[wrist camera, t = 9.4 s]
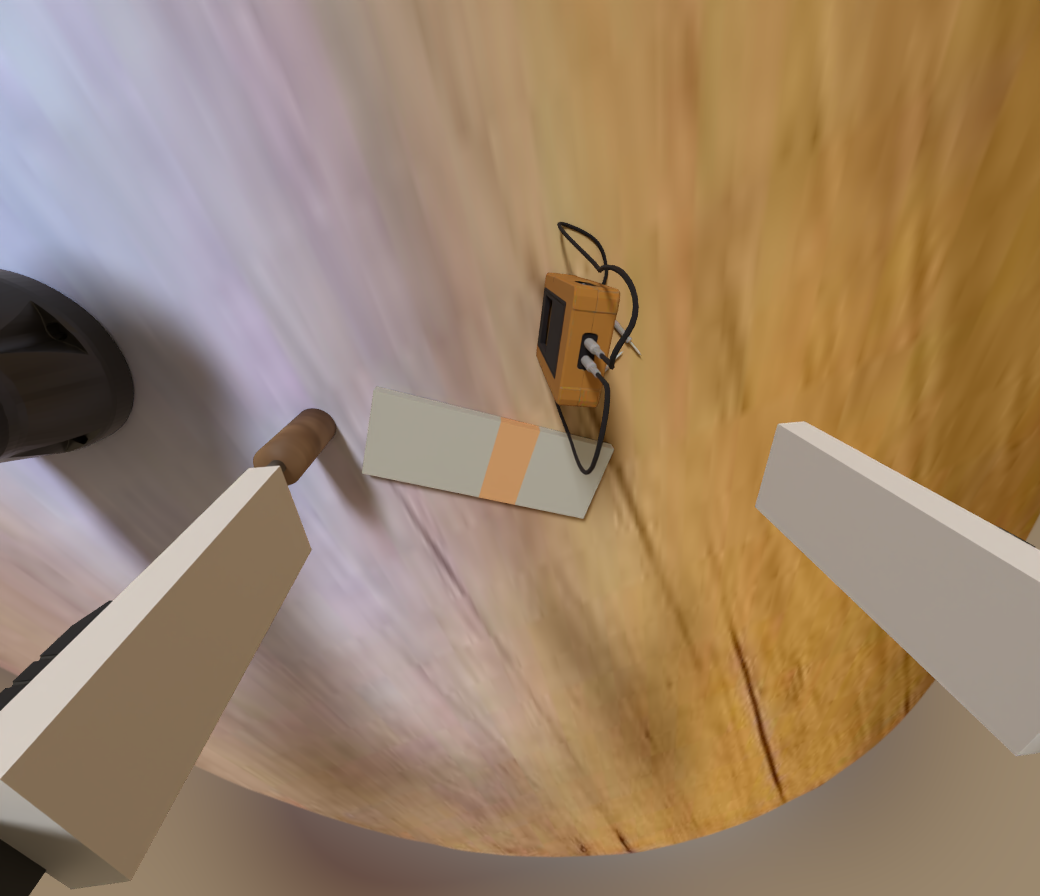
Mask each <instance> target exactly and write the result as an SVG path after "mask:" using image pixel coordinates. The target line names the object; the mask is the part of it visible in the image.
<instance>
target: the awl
mask: <svg viewBox="0 0 1040 896" xmlns="http://www.w3.org/2000/svg"><path fill="white" fill-rule="evenodd" d="M335 432H336V425H335V422H334V420H333V419H332V417H331V416H330V415H329V414H327V413H326V412H324V411H322V410H319V409H313V408H312V409H306V410H304V411H302V412H301V413H300V414H299V415H298V416H297V417H296V418H294V419H293V420H292V421H291V422H290V423H289V424H288V425H287V426H285V427H284V428H283V429H282V430H281V431H280V432H279V433H278V434H276V435H275V436H274V437H273V438H272V439H271V440H270V441H269V442H268V443H266V444H265V445H264V446H263V447H262V448H261V449H260V450H259V451H258V452H257V453H256V454H255V456H254V459H253V465H254V468H258V467H270V466H280V467H281V469H282V472H283V475H284V477H285V480H286V483H287V485H291V484H293V483H295V482H297V481H298V480H299V478H300V477H301V476H302V475H303V473H304V472H305V471H306V470H307V468H308V467H309V466H310V465H311V464H312V462H313V461H314V460H315V459H316V457H317V456H318V455H319V454H320V452H321V451H322V450H323V449H324V447H325V446H326V445H327V444H328V443H329V441H330V440H331V439H332V438H333V436H334V435H335Z"/></svg>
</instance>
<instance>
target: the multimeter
mask: <svg viewBox="0 0 1040 896" xmlns="http://www.w3.org/2000/svg"><path fill="white" fill-rule="evenodd" d="M557 225H558V228H559V230H560V231H561V232H562V234H563V235H564V236H565V237H566V238H567V239H568V240H569V241H570V242H571V243H572V244H573V245H574V246H575V247H576V248H577V249H578V250H579V251H580V252H581V253H582V254H583V255H584V256H585V257H586V258H587V259H588V260H589V261H590V262H591V264H592V265H593V266H594V267H595V268H596V269H597V271H598V272H600V273H601V272H602V271H603V270H605V276H604V280H603V282H602V284H600V283H597V282H594V281H591V280H588V279H584V278H580V277H577V276H575V275H567V274H558V273H548V274H547V275H546V280H545V289H544V297H543V305H542V313H541V321H540V329H539V337H538V344H537V354H536V356H537V358H538V361H539V363H540V366H541V368H542V371H543V373H544V375H545V378H546V380H547V382H548V385H549V387H550V389H551V392H552V394H553V396H554V399H555V403H556V406H557V409H558V412H559V415H560V418H561V420H562V423H563V426H564V428H565V431H566V433H567V436H568V439H569V442H570V445H571V448H572V452H573V455H574V458H575V461H576V463H577V466H578V468H579V469H580V471H581V472H582V473H583V474H585V475H589V474H590V473H591V472H592V471H593V470H594V468H595V466H596V463H597V461H598V458H599V455H600V451H601V448H602V444H603V439H604V435H605V430H606V426H607V420H608V414H609V406H610V387H609V384H608V382H607V381H606V380H605V379H604V374H605V372H606V371H607V370H609V368H610V369H613V368H614V363H615V360H616V359H617V358H618V357H619V356H620V355H621V353H622V352H623V351H622V352H621V353H619V351H620V349H621V347H622V346H623V344H624V343H625V341H626V343H628V342H629V343H630V344H631V345H632V347H633V348H634V349H635V350H636V352H637V353H638V354H639V355H641V354H640V352H639V351H638V349H637V348H636V347H635V346H634V344H633V343H632V342H631V339H632V338H631V337H629V335H630V333H631V332H632V330H633V328H634V326H635V323H636V320H637V317H638V308H639V306H638V296H637V293H636V289H635V286H634V284H633V282H632V280H631V279H630V277H629V276H628V274H627V273H626V272H625V271H624V270H623V269H621V268H620V267H618V266H615V265H607V260H606V256H605V252H604V250H603V248H602V246H601V244H600V243H599V241H598V240H597V239H596V238H595V237H593V236H592V235H591V234H589V233H587V232H586V231H584V230H582V229H580V228H578V227H575V226H573V225H570V224H568V223H564V222H559V223H558V224H557ZM561 225H563V226H566V227H569V228H572V229H574V230H576V231H579V232H581V233H583V234H585V235H586V236H588V237H589V238H591V239H592V240H593V241H594V242H595V243H596V244H597V245H598V247H599V248H600V251H601V253H602V256H603V260H604V265H603V266H601V267H599V265H598V264H597V263H596V262H595V261H594V260H593V259H592V258H591V257H590V256H589V255H588V254H587V253H586V252H585V251H584V250H583V249H582V248H581V247H580V246H579V245H578V244H577V243H576V242H575V241H574V240H573V239H572V238H571V237H570V236H569V235H568V234H567V233H566V232H565V231H564V229H563V228H562V227H561ZM608 270H612V271H615V272H616V273H618V274H619V275H620V276H621V277H622V278H623V279H624V280H625V282H626V283H627V285H628V287H629V289H630V292H631V295H632V300H633V311H632V317H631V320H630V323H629V325H628V327H627V329H626V330H624V329H623V328H622V327H621V325H620V324H619V323H618V322H617V321H616V315H617V312H618V307H619V301H620V292H619V290H618V289H615V288H612V287H609V286H606V285H605V283H606V279H607V275H608ZM614 327H615V328H616V329H617V331H618V332H619V333H620V334H621V336H622V337H621V338H620V340H619V341H618V342H617V344H616V346H615V348H614V350H613V352H612V354H611V356H610V359H608V354H609V349H610V344H611V339H612V335H613V330H614ZM618 353H619V354H618ZM606 364H607V366H606ZM608 367H609V368H608ZM602 384H603V385H604V388H605V402H604V411H603V417H602V423H601V428H600V433H599V437H598V442H597V446H596V450H595V453H594V457H593V460H592V462H591V465H590V467H589V469H588V470H585V469H584V468H583V466H582V465H581V463H580V460H579V458H578V455H577V453H576V450H575V447H574V444H573V441H572V438H571V435H570V432H569V430H568V427H567V425H566V422H565V420H564V417H563V414H562V412H561V409H560V406H559V405H567V406H580V407H593V408H595V407H596V406H597V405H598V403H599V399H600V395H601V388H602Z"/></svg>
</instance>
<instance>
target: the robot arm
mask: <svg viewBox="0 0 1040 896" xmlns="http://www.w3.org/2000/svg"><path fill="white" fill-rule="evenodd" d="M132 404H133V383H132V378H131V375H130V372H129V369H128V366H127V364H126V361H125V359H124V357H123V355H122V354H121V352H120V350H119V349H118V347H117V346H116V344H115V343H114V341H113V340H112V338H111V337H110V336H109V335H108V333H107V332H106V331H105V330H104V329H103V328H102V326H101V325H100V324H99V323H98V322H97V321H96V320H95V319H94V318H93V317H92V316H90V315H89V314H88V313H87V312H86V311H85V310H84V309H82V308H81V307H80V306H79V305H77V304H76V303H75V302H73V301H72V300H70V299H69V298H67V297H66V296H64V295H63V294H61V293H60V292H58V291H56V290H55V289H53V288H51V287H49V286H47V285H45V284H43V283H41V282H39V281H37V280H34V279H32V278H29V277H27V276H24V275H21V274H18V273H14V272H11V271H6V270H2V269H0V463H2V462H8V461H14V460H20V459H27V458H33V457H39V456H45V455H52V454H58V453H64V452H70V451H74V450H77V449H81V448H84V447H86V446H89V445H91V444H93V443H95V442H97V441H99V440H101V439H103V438H105V437H107V436H109V435H111V434H112V433H114V432H115V431H117V430H118V429H119V428H120V427H121V426H122V425H123V424H124V423H125V421H126V420H127V418H128V416H129V414H130V412H131V409H132ZM755 507H756V508H757V509H758V510H759V511H760V512H761V513H762V514H763V515H764V516H765V517H766V518H767V519H768V520H769V521H770V522H772V523H773V524H774V525H775V526H776V527H777V528H778V529H779V530H780V531H781V532H782V533H783V534H784V535H785V536H786V537H787V538H788V539H789V540H790V541H791V542H792V543H793V544H795V545H796V546H797V547H798V548H799V549H800V550H801V551H802V552H803V553H804V554H805V555H806V556H807V557H808V558H809V559H810V560H811V561H812V562H813V563H814V564H815V565H817V566H818V567H819V568H820V569H821V570H822V571H823V572H824V573H825V574H826V575H827V576H828V577H829V578H830V579H831V580H832V581H833V582H834V583H835V584H836V585H837V586H838V587H840V588H841V589H842V590H843V591H844V592H845V593H846V594H847V595H848V596H849V597H850V598H851V599H852V600H853V601H854V602H855V603H856V604H857V605H858V606H859V607H860V608H862V609H863V610H864V611H865V612H866V613H867V614H868V615H869V616H870V617H871V618H872V619H873V620H874V621H875V622H876V623H877V624H878V625H879V626H880V627H881V628H882V629H883V630H885V631H886V632H887V633H888V634H889V635H890V636H891V637H892V638H893V639H894V640H895V641H896V642H897V643H898V644H899V645H900V646H901V647H902V648H903V649H904V650H905V651H907V652H908V653H909V654H910V655H911V656H912V657H913V658H914V659H915V660H916V661H917V662H918V663H919V664H920V665H921V666H922V667H923V668H924V669H925V670H926V671H927V672H928V673H930V674H931V675H932V676H933V677H934V678H935V679H936V680H937V681H938V682H939V683H940V684H941V685H942V686H943V687H944V688H945V689H946V690H947V691H948V692H949V693H950V694H952V695H953V696H954V697H955V698H956V699H957V700H958V701H959V702H960V703H961V704H962V705H963V706H964V707H965V708H966V709H967V710H968V711H969V712H970V713H971V714H973V715H974V716H975V717H976V718H977V719H978V720H979V721H980V722H981V723H982V724H983V725H984V726H985V727H986V728H987V729H988V730H989V731H990V732H992V733H993V735H994V736H996V737H997V738H998V739H999V740H1000V741H1001V742H1002V743H1003V744H1004V745H1005V746H1006V747H1007V748H1008V749H1009V750H1010V751H1011V752H1012V753H1013V754H1014V755H1015V756H1020V755H1028V754H1035V753H1040V550H1038V549H1036V548H1035V546H1033V545H1031V544H1029V543H1028V542H1026V541H1024V540H1022V539H1020V538H1018V537H1017V536H1015V535H1013V534H1011V533H1009V532H1007V531H1006V530H1004V529H1002V528H1000V527H997V526H995V525H993V524H991V523H989V522H987V521H985V520H983V519H982V518H980V517H978V516H976V515H974V514H973V513H971V512H969V511H967V510H965V509H963V508H962V507H960V506H958V505H956V504H954V503H952V502H951V501H949V500H947V499H945V498H943V497H942V496H940V495H938V494H936V493H934V492H932V491H931V490H929V489H927V488H925V487H923V486H921V485H920V484H918V483H916V482H914V481H912V480H910V479H909V478H907V477H905V476H903V475H901V474H900V473H898V472H896V471H894V470H892V469H890V468H889V467H887V466H885V465H883V464H881V463H879V462H878V461H876V460H874V459H872V458H870V457H869V456H867V455H865V454H863V453H861V452H859V451H858V450H856V449H854V448H852V447H850V446H848V445H847V444H845V443H843V442H841V441H839V440H838V439H836V438H834V437H832V436H830V435H828V434H827V433H825V432H823V431H821V430H819V429H817V428H816V427H814V426H812V425H810V424H808V423H806V422H793V423H781V424H778V425H777V429H776V432H775V436H774V440H773V443H772V447H771V451H770V454H769V458H768V462H767V465H766V469H765V473H764V476H763V480H762V483H761V487H760V491H759V494H758V498H757V502H756V505H755ZM311 550H312V549H311V547H310V544H309V541H308V539H307V536H306V533H305V531H304V528H303V525H302V523H301V520H300V517H299V515H298V512H297V509H296V507H295V504H294V501H293V499H292V496H291V493H290V491H289V488H288V485H287V483H286V480H285V477H284V475H283V472H282V469H281V467H280V466H270V467H258V468H248V469H247V470H246V471H245V472H244V473H243V474H242V475H241V476H240V477H239V478H238V479H237V480H236V481H235V482H234V483H233V484H232V485H231V486H230V487H229V488H228V489H227V490H226V491H225V492H224V493H223V494H222V495H221V496H220V497H219V498H218V499H217V500H216V501H215V502H214V503H213V504H212V505H211V506H210V507H209V508H208V509H206V510H205V511H204V512H203V513H202V514H201V515H200V516H199V517H198V518H197V519H196V520H195V521H194V522H193V523H192V524H191V525H190V526H189V527H188V528H187V529H186V530H185V531H184V532H183V533H182V534H181V535H180V536H179V537H178V538H177V539H176V540H175V541H174V542H173V543H172V544H171V545H170V546H169V547H168V548H167V549H166V550H165V551H164V552H163V553H162V554H160V555H159V556H158V557H157V558H156V559H155V560H154V561H153V562H152V563H151V564H150V565H149V566H148V567H147V568H146V569H145V570H144V571H143V572H142V573H141V574H140V575H139V576H138V577H137V578H136V579H135V580H134V581H133V582H132V583H131V584H130V585H129V586H128V587H127V588H126V589H125V590H124V591H123V592H122V593H121V594H120V595H119V596H118V597H117V598H116V599H114V600H113V601H108V602H107V603H105V604H104V605H102V606H101V607H99V608H98V609H96V610H95V611H93V612H92V613H90V614H89V615H87V616H86V617H84V618H83V619H81V620H80V621H78V622H77V623H75V624H74V625H72V626H71V627H70V628H69V629H68V630H67V631H66V632H65V633H64V634H63V635H62V636H60V637H59V638H58V639H57V640H56V641H55V642H54V643H53V644H52V645H51V646H50V647H49V648H48V649H47V650H46V651H45V652H43V653H42V654H41V655H40V657H41V658H40V660H39V661H35V662H33V663H32V664H31V665H30V666H29V667H27V668H26V669H25V670H24V671H23V672H22V673H21V674H20V675H19V676H18V677H17V678H16V679H15V680H14V681H13V685H12V687H10V688H5V689H4V690H3V691H2V692H1V693H0V896H29V895H30V893H31V892H32V890H33V889H34V887H35V886H36V884H37V883H38V882H39V880H40V879H41V877H42V876H43V874H44V873H45V872H46V873H48V874H49V875H51V876H52V877H54V878H55V879H57V880H58V881H60V882H61V883H63V884H64V885H66V886H67V887H69V888H70V889H77V888H83V887H91V886H98V885H105V884H112V883H119V882H126V881H131V880H132V878H133V876H134V874H135V872H136V871H137V868H138V867H139V865H140V863H141V861H142V860H143V858H144V856H145V854H146V852H147V850H148V848H149V847H150V845H151V843H152V841H153V839H154V837H155V836H156V834H157V832H158V830H159V828H160V827H161V825H162V823H163V821H164V819H165V817H166V816H167V814H168V812H169V810H170V808H171V806H172V805H173V803H174V801H175V799H176V797H177V795H178V794H179V792H180V790H181V788H182V786H183V784H184V783H185V781H186V779H187V777H188V775H189V773H190V772H191V770H192V768H193V766H194V764H195V762H196V761H197V759H198V757H199V755H200V753H201V751H202V750H203V748H204V746H205V744H206V742H207V740H208V739H209V737H210V735H211V733H212V731H213V729H214V728H215V726H216V724H217V722H218V720H219V718H220V717H221V715H222V713H223V711H224V709H225V707H226V706H227V704H228V702H229V700H230V698H231V696H232V695H233V693H234V691H235V689H236V687H237V685H238V684H239V682H240V680H241V678H242V676H243V674H244V673H245V671H246V669H247V667H248V665H249V664H250V662H251V660H252V658H253V656H254V654H255V653H256V651H257V649H258V647H259V645H260V643H261V642H262V640H263V638H264V636H265V634H266V632H267V631H268V629H269V627H270V625H271V623H272V621H273V620H274V618H275V616H276V614H277V612H278V610H279V609H280V607H281V605H282V603H283V601H284V599H285V598H286V596H287V594H288V592H289V590H290V588H291V587H292V585H293V583H294V581H295V579H296V577H297V576H298V574H299V572H300V570H301V568H302V566H303V565H304V563H305V561H306V559H307V557H308V555H309V554H310V552H311Z"/></svg>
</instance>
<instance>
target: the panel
mask: <svg viewBox="0 0 1040 896" xmlns="http://www.w3.org/2000/svg"><path fill="white" fill-rule="evenodd" d="M570 435H571V438H572V441H573V444H574V447H575V450H576V453H577V455H578V458H579V460H580V463H581V465H582V466H583V468H584V469H585V470H588V469H589V467H590V465H591V462H592V460H593V457H594V453H595V450H596V446H597V442H598V441H596V440H592V439H588V438H584V437H580V436H576V435H572V434H570ZM613 451H614V448H613V447H612V445H611V444H608V443H604V442H603V444H602V448H601V451H600V455H599V458H598V461H597V463H596V466H595V468H594V470H593V471H592V472H591V473H590V474H589V475H585V474H583V473H582V472H581V471H580V469H579V468H578V466H577V463H576V461H575V458H574V455H573V452H572V448H571V445H570V442H569V439H568V436H567V433H564V432H560V431H556V430H552V429H548V428H544V427H540V426H536V425H532V424H527V423H523V422H519V421H515V420H511V419H507V418H503V417H499V416H495V415H491V414H487V413H483V412H479V411H475V410H471V409H467V408H463V407H459V406H455V405H451V404H446V403H442V402H438V401H434V400H430V399H426V398H422V397H418V396H414V395H410V394H406V393H402V392H398V391H394V390H390V389H386V388H382V387H378V386H377V387H376V388H375V389H374V392H373V399H372V406H371V413H370V420H369V427H368V434H367V441H366V448H365V455H364V462H363V469H362V474H367V475H372V476H377V477H382V478H387V479H392V480H397V481H402V482H406V483H411V484H416V485H421V486H426V487H431V488H436V489H441V490H445V491H450V492H455V493H460V494H465V495H470V496H475V497H480V498H485V499H489V500H494V501H499V502H504V503H509V504H514V505H519V506H524V507H528V508H533V509H538V510H543V511H548V512H553V513H558V514H563V515H567V516H572V517H577V518H582V519H583V518H584V516H585V514H586V512H587V509H588V507H589V505H590V503H591V500H592V498H593V496H594V494H595V491H596V489H597V487H598V485H599V482H600V480H601V478H602V476H603V473H604V471H605V469H606V467H607V464H608V462H609V460H610V458H611V455H612V453H613Z"/></svg>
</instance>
